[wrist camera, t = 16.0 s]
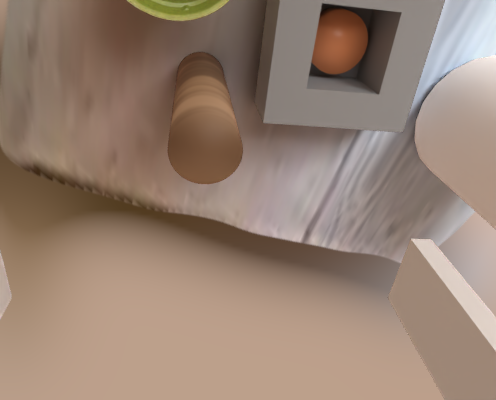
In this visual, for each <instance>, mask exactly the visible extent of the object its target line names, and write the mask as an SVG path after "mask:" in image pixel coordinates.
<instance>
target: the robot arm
mask: <svg viewBox="0 0 496 400" xmlns="http://www.w3.org/2000/svg"><path fill="white" fill-rule="evenodd" d="M11 298H12V295H11V291H10V288H9V283H8V279H7V275H6V271H5V267H4V263H3V259H2V255H1V251H0V319H1V317H2V315H3V313H4V311H5V309H6V307H7V305H8V304H9V302H10V300H11ZM388 299H389V301H390V303H391V305H392V306H393V308H394V310H395V312H396V314H397V315H398V317H399V319H400V321H401V322H402V324H403V326H404V328H405V330H406V331H407V333H408V335H409V337H410V339H411V341H412V342H413V344H414V346H415V348H416V349H417V351H418V353H419V355H420V357H421V358H422V360H423V362H424V364H425V366H426V367H427V369H428V371H429V373H430V375H431V376H432V378H433V380H434V382H435V383H436V385H437V387H438V389H439V391H440V392H441V394H442V396H443V398H444V399H445V400H496V317H495V316H494V315H493V313H492V312H491V311H490V310H489V308H488V307H487V306H486V305H485V304H484V302H483V301H482V300H481V299H480V298H479V296H478V295H477V294H476V293H475V292H474V291H473V289H472V288H471V287H470V286H469V284H468V283H467V282H466V281H465V279H464V278H463V277H462V276H461V275H460V274H459V272H458V271H457V270H456V269H455V267H454V266H453V265H452V264H451V263H450V261H449V260H448V259H447V258H446V256H445V255H444V254H443V253H442V252H441V250H440V249H439V248H438V247H437V246H436V244H435V243H434V242H433V241H432V239H410V242H409V244H408V247H407V250H406V252H405V255H404V257H403V260H402V263H401V265H400V268H399V270H398V273H397V276H396V278H395V281H394V283H393V286H392V288H391V291H390V294H389V296H388Z"/></svg>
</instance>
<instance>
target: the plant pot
mask: <svg viewBox="0 0 496 400" xmlns="http://www.w3.org/2000/svg"><path fill="white" fill-rule="evenodd" d="M126 1H128V2H129V3H130V4H132V5H133V6H134V7H136V8H138V9H139V10H141V11H143V12H145V13H147V14H149V15H152V16H154V17H157V18H161V19H165V20H171V21H189V20H194V19H199V18H202V17H205V16H207V15H210V14H212V13H214V12H215V11H217V10H218V9H220V8H221V7H223V6H224V5H225V4H226V3H227V2H228V1H229V0H126Z"/></svg>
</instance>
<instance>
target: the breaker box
mask: <svg viewBox="0 0 496 400" xmlns="http://www.w3.org/2000/svg"><path fill="white" fill-rule="evenodd" d="M444 2H445V0H267V3H266V11H265V19H264V28H263V36H262V44H261V53H260V61H259V69H258V77H257V86H256V94H255V104H256V107H257V109H258V112H259V114H260V116H261V119H262V121H263V123H269V124H284V125H299V126H314V127H329V128H344V129H359V130H373V131H388V132H403V131H404V128H405V124H406V121H407V118H408V115H409V112H410V109H411V106H412V102H413V99H414V96H415V93H416V90H417V87H418V84H419V80H420V77H421V74H422V71H423V68H424V65H425V62H426V59H427V55H428V52H429V49H430V46H431V43H432V40H433V37H434V33H435V30H436V27H437V24H438V21H439V18H440V15H441V12H442V8H443V5H444ZM334 7H336V8H343V9H345V10H348V11H351V12H354V13H355V14H357V15H358V16H359V17H360V18H361V19H362V20H363V22H364V23H365V25H366V28H367V32H368V43H367V48H366V51H365V53H364V55H363V57H362V58H361V60H360V61H359V62H358V63H357V65H355V66H354V67H353V68H352V69H350V70H348V71H346V72H344V73H340V74H328V73H325V72H323V71H321V70H319V69H318V68H317V67H316V66H315V65H314V64H312V63H311V61H312V56H313V50H314V45H315V39H316V34H317V28H318V23H319V17H320V12H321V11H323V10H325V9H328V8H334Z"/></svg>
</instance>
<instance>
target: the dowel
mask: <svg viewBox="0 0 496 400" xmlns="http://www.w3.org/2000/svg"><path fill="white" fill-rule="evenodd" d="M242 153H243V147H242V141H241V137H240V134H239V130H238V126H237V122H236V118H235V114H234V111H233V107H232V103H231V99H230V95H229V92H228V88H227V84H226V80H225V76H224V72H223V69H222V66H221V64H220V63H219V61H218V60H217V59H216V58H215V57H213V56H212V55H210V54H208V53H204V52H196V53H192V54H190V55H188V56H187V57H185V58H184V59H183V60H182V62H181V63H180V65H179V68H178V73H177V81H176V88H175V96H174V103H173V111H172V118H171V126H170V134H169V141H168V157H169V160H170V163H171V165H172V167H173V168H174V169H175V171H176V172H177V173H178V174H179V175H181V176H182V177H183V178H185V179H187V180H189V181H191V182H194V183H198V184H212V183H216V182H219V181H222V180H224V179H226V178H227V177H229V176H230V175H231V174H232V173H233V172H234V171H235V170H236V169H237V167H238V166H239V164H240V161H241V158H242Z"/></svg>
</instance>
